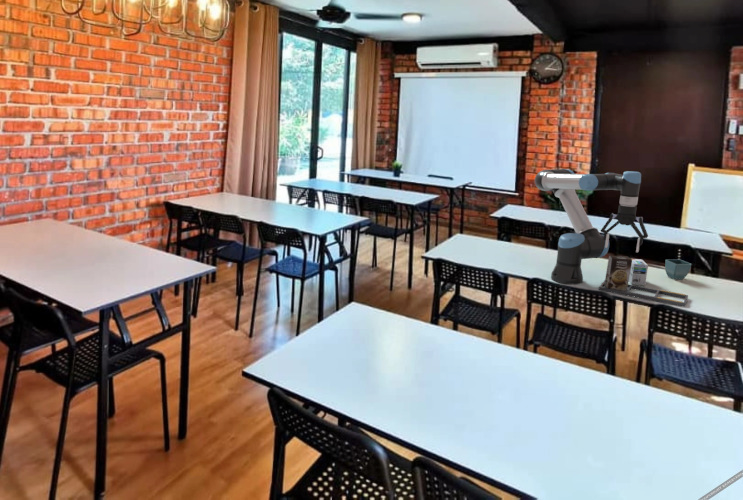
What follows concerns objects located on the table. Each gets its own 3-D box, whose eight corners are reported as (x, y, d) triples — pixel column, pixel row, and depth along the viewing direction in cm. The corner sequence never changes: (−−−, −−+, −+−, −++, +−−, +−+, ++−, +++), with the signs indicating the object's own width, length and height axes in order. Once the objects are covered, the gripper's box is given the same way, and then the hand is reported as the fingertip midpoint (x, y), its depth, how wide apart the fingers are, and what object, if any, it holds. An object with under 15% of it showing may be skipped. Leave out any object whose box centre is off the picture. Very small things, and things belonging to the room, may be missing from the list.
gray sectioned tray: (598, 290, 254) (599, 286, 254) (604, 283, 265) (605, 279, 264) (684, 306, 235) (685, 303, 234) (687, 298, 245) (688, 294, 245)
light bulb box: (645, 285, 262) (648, 264, 260) (630, 284, 264) (634, 263, 261) (639, 279, 273) (642, 259, 270) (625, 278, 274) (628, 258, 271)
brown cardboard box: (607, 290, 254) (612, 258, 249) (603, 286, 260) (608, 254, 256) (627, 292, 252) (632, 259, 248) (623, 287, 259) (628, 255, 254)
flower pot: (689, 280, 272) (692, 264, 269) (673, 281, 271) (676, 264, 268) (677, 275, 280) (680, 259, 278) (662, 275, 279) (664, 259, 277)
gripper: (597, 203, 249) (592, 246, 255) (656, 209, 236) (649, 255, 241) (601, 201, 255) (595, 243, 261) (659, 207, 242) (651, 252, 247)
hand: (621, 249), depth 251 cm, fingers open, 13 cm apart
